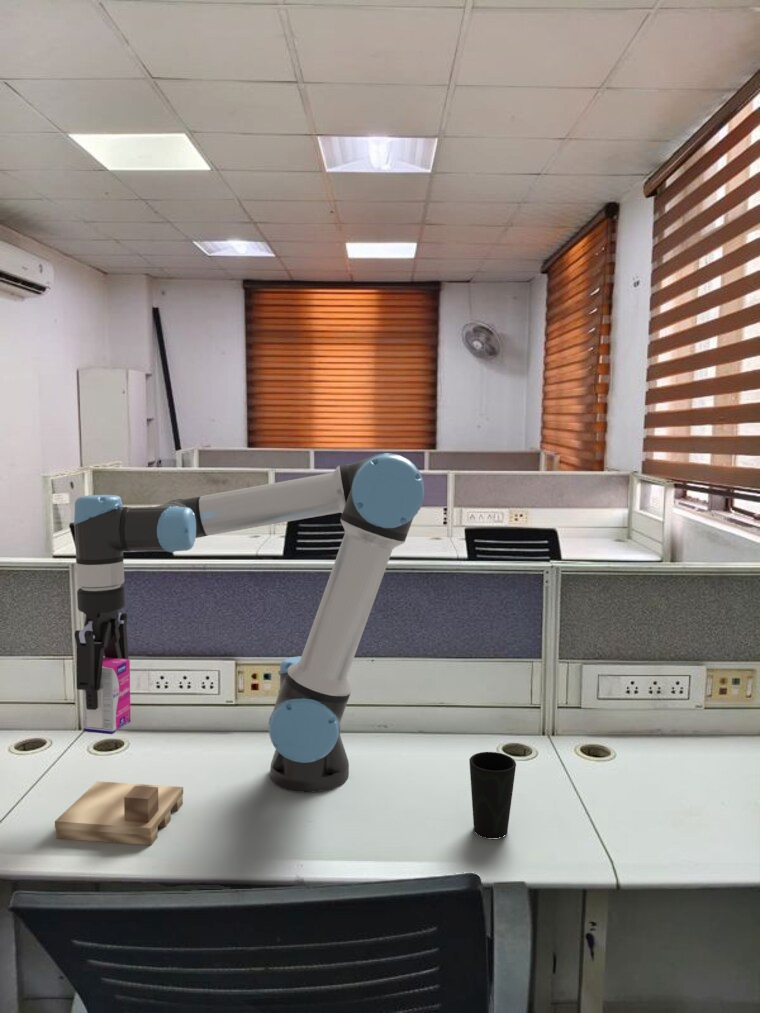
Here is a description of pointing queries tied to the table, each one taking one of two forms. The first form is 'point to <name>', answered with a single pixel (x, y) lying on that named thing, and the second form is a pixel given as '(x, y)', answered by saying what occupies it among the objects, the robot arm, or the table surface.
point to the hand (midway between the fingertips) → (105, 718)
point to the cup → (491, 792)
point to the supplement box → (113, 696)
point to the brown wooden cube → (141, 804)
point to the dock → (115, 815)
